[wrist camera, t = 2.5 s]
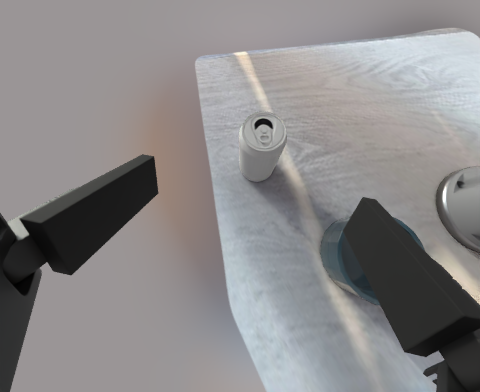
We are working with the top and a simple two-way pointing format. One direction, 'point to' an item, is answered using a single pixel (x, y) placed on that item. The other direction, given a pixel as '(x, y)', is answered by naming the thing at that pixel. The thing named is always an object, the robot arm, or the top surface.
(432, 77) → the top surface
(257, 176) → the beverage can
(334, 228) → the bowl
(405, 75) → the top surface
